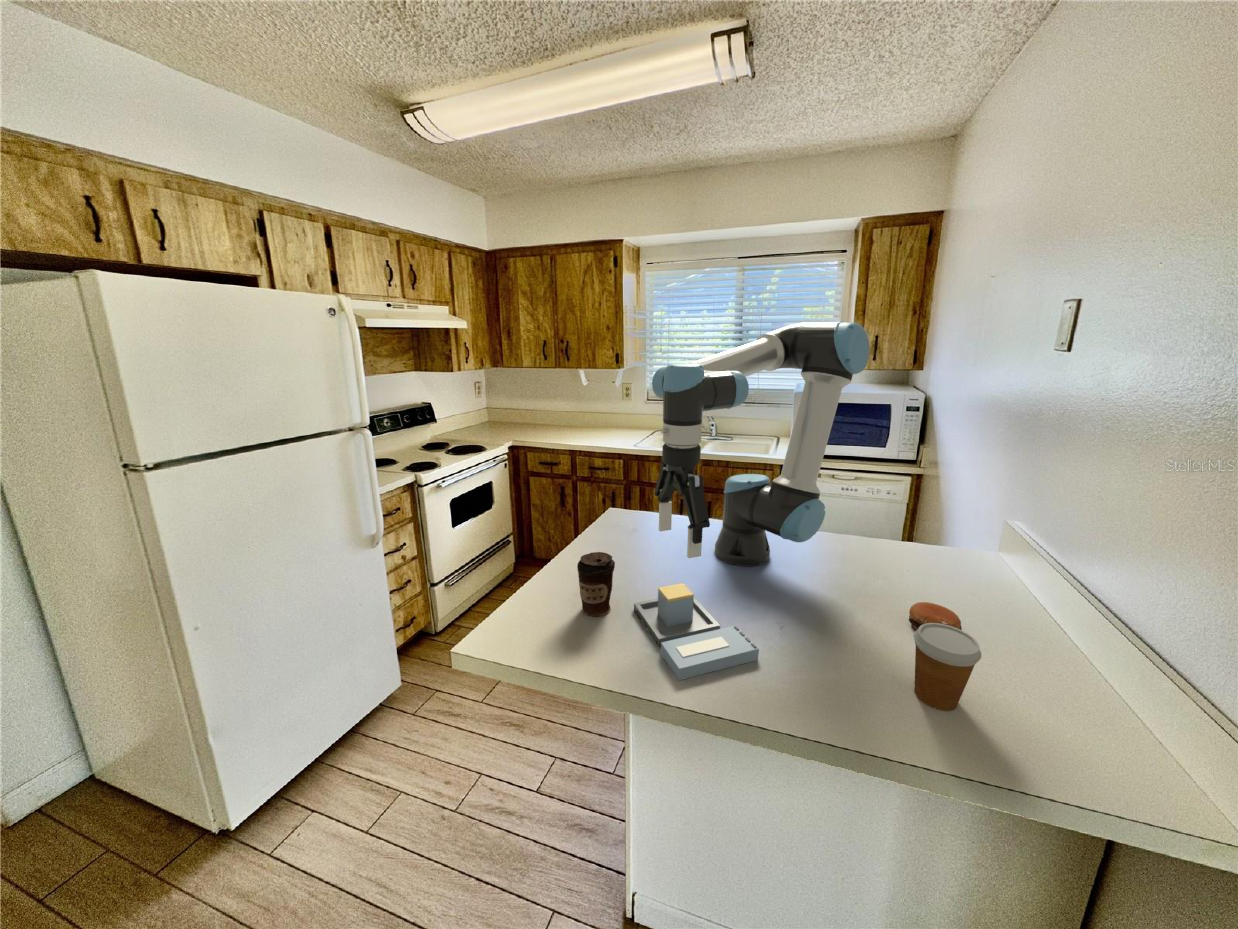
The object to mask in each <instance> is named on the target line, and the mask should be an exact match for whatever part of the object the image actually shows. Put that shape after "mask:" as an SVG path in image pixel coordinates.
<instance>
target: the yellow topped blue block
mask: <svg viewBox="0 0 1238 929" xmlns="http://www.w3.org/2000/svg"><path fill="white" fill-rule="evenodd" d="M657 591H658V592H657V598H658V615H659V617H660V618H661V619H662V621H663V622H664V623H665V625H666V626H667V627H669V626H674V625H678V624H683V623H687V622H692V621H693V600H694V598H695V597H694V595H695V594H694V593H693V591H692V590H690V589H689V588H688V586H686V584H684V582H682V583H675V584H671V585H665V586H661V587H658V590H657Z"/></svg>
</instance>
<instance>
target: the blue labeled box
mask: <svg viewBox="0 0 1238 929" xmlns="http://www.w3.org/2000/svg"><path fill="white" fill-rule="evenodd" d="M759 653H760V648H759V647H758V646H757V645H756V644H755V643H754V642H753V640H751V639H750V638H749V637H748V636H747V635H746V634H745V633H744V632H743V631H742V629H740V627H739V626H737V625H732V626H727V627H722V628H720V629H718V630H713V631H709V632H705V633H700V634H696V635H692V636H687V637H683V638H679V639H674V640H670V641H666V642H661V646H660V654H661V656H662V657H663V659H664V661H665V662H666V663H667V664H668V666H669V668H670V670H671V671H672V672H673V674H674V675H675V677H676V678H677V680H678V681H681V680H685V679H689V678H692V677H697V676H700V675H705V674H709V673H712V672H716V671H719V670H725V669H727V668H732V667H735V666H740V665H742V664H746V663H750V662H754V661H758V660H759Z"/></svg>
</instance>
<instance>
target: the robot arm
mask: <svg viewBox="0 0 1238 929" xmlns="http://www.w3.org/2000/svg"><path fill="white" fill-rule="evenodd" d="M870 345H871V344H870V339H869V336H868V333H867V331H866V329H865V328H864V326H862V325H861V324H859V323H856V322H848V321H847V322H845V321H831V322H829V321H828V322H808V321H807V322H798V323H794V324H790V325H786V326H783V327H781V328H778V329H775V330H772V331H769V332H765V333H763V334H760V335H759V336H758V337H757V338H756V339H755V341H751V342H749V343H745V344H743V345H739V346H737V347H733V348H732V349H731V348H730V349H728V350H725V351H722V352H719V353H716V354H714V355H710V356H707V357H705V358H701V359H697V360H695V361H692V362H688V363H670V364H668V365H666V366H662V367H659V369H657V370H656V371H655V373H654V374H653V376H652V380H651V387H652V391H653V393H654V395H655V396H656V397H657V398H659V399H662V402H663V404H662V413H663V414H662V416H663V417H662V421H663V423H662V429H661V432H660V433H662V441H663V443H664V444H663V445H662V447H661V448H662V451H661V452H662V454H661V455H662V456H661V457H662V458H661V461H660V471H659V474H658V478H657V482H656V486H655V489H654V496H655V497H657V500H658V504H659V506H658V532H665V531H666V532H668V531H671V530H672V522H673V521H672V518H673V517H672V516H673V514H672V513H673V502H672V501H673V495H674V493H675V492H676V490H677V491H678V494H679V496H681V497H682V500H683V503H684V506H685V507H684V508H685V511H686V513H687V514H686V515H687V517H688V520H689V525H687V545H686V546H687V549H686V557H687V558H688V559H692V558H698V557H702V546H703V545H702V544H703V542H702V541H703V529H704V528H710V526H711V523H710V517H709V512H708V508H707V501H706V496H705V489H704V477H703V474H699V475H698V474H697V475H696V474H695V469H694V468H695V467H696V466H698V465H699V464H700V462H701V455H702V454H701V453H702V452H701V451H702V449H701V448H702V447H701V445H700V443H701V442H702V428H703V412H707V411H716V410H725V409H726V410H727V409H732V408H735V407H739V406H741V405H743V404H744V403H745V401H746V400H747V398H748V396H749V389H750V387H749V386H750V384H749V381H748V379H747V377H749V376H752V375H754V374H757V373H759V372H762V371H767V372H768V371H769V372H772V371H776V370H779V369H794V370H795V369H796V370H801V372H800V375H801V377H802V379H803V380H804V386H803V390H802V393H801V396H800V400H799V404H798V408H797V412H796V415H795V419H794V422H793V428H792V430H791V434H790V438H789V442H788V445H787V450H786V454H785V457H784V461H783V465H782V469H781V473H780V475H779V476H778V477H776V478H774V479H773V480H772V482H771V480H770V478H769V476H768V475H765V474H761V473H760V474H759V473H743V474H736V475H731V476H730V477H728V478H727V479H726V481H725V484H724V490H723V509H722V526H721V529H720V532H719V534H718V536H717V539H716V541H715V544H714V554H715V556H716V557H717V558H718V559H719V560H721V561H724V562H725V563H728V564H731V565H734V566H735V565H736V566H740V567H741V566H742V567H755V566H761V565H764V564H765V563H767V562H768V561H769V560H770V557H771V555H770V553H771V548H770V545H769V540H768V537H767V533H766V532H769V533H771V534H773V535H776V536H778V537H780V538H782V539H784V540H789V541H791V542H793V543H804V542H807V541H809V540H811V539H812V537H814V536H815V535H816V534H817V532H818V531H819V530H820V529H821V526H822V525H823V523H824V520H825V517H826V506H825V504H824V502H822V500H821V499H820V495H821V490H820V489H819V487H818V486H817V481H818V479H819V474H820V472H821V471H820V470H821V467H822V463H823V459H824V456H825V452H826V448H827V445H828V443H829V442H828V441H829V439H830V438H829V437H830V433H831V430H832V427H833V423H834V420H835V416H836V412H837V409H838V405H839V401H840V398H841V395H842V390H843V389H844V388H845V387H847V386H848V385H850V384H852V383H851V382H852V380H853V377H854V375H858V374H860V373H862V372H863V371H864V369H865V368H866V367H867V364H868V362H869V359H870ZM770 483H771V484H770Z"/></svg>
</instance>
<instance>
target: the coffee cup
mask: <svg viewBox="0 0 1238 929" xmlns="http://www.w3.org/2000/svg"><path fill="white" fill-rule="evenodd" d="M579 559H580V560H578V563H577V567H576V568H577V573H578V574H577V575H578V586H579V594H580V600H581V605H582V606H581V608H582V612H583V613H584V614H585V615H588V616H590V617H591V616H592V617H601V616H604V615H605V616H606V615H607V614H609V613H610V611H611V605H610V600H611V594H612V590H613V578H614V576H613V575H614V571H615V564H616V562H615V560H614V559H613V556H612V555H611V554H609V553H607V552H601V551H595V552H590V553H586V554H582V556H580V558H579Z"/></svg>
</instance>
